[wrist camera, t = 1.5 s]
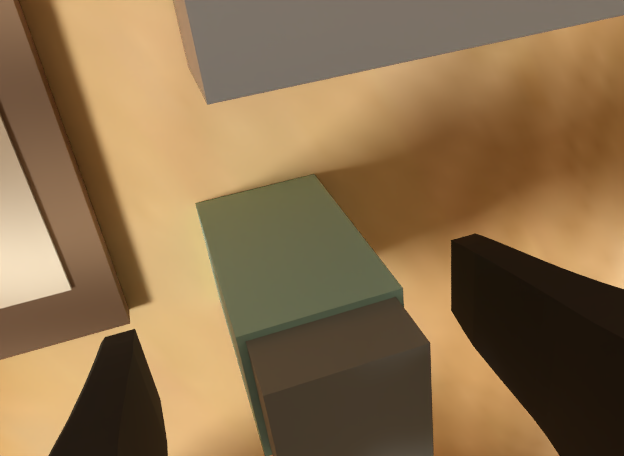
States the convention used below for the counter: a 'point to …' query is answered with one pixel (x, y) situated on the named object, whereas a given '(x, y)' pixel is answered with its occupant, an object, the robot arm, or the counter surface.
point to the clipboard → (45, 214)
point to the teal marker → (317, 326)
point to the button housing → (350, 35)
